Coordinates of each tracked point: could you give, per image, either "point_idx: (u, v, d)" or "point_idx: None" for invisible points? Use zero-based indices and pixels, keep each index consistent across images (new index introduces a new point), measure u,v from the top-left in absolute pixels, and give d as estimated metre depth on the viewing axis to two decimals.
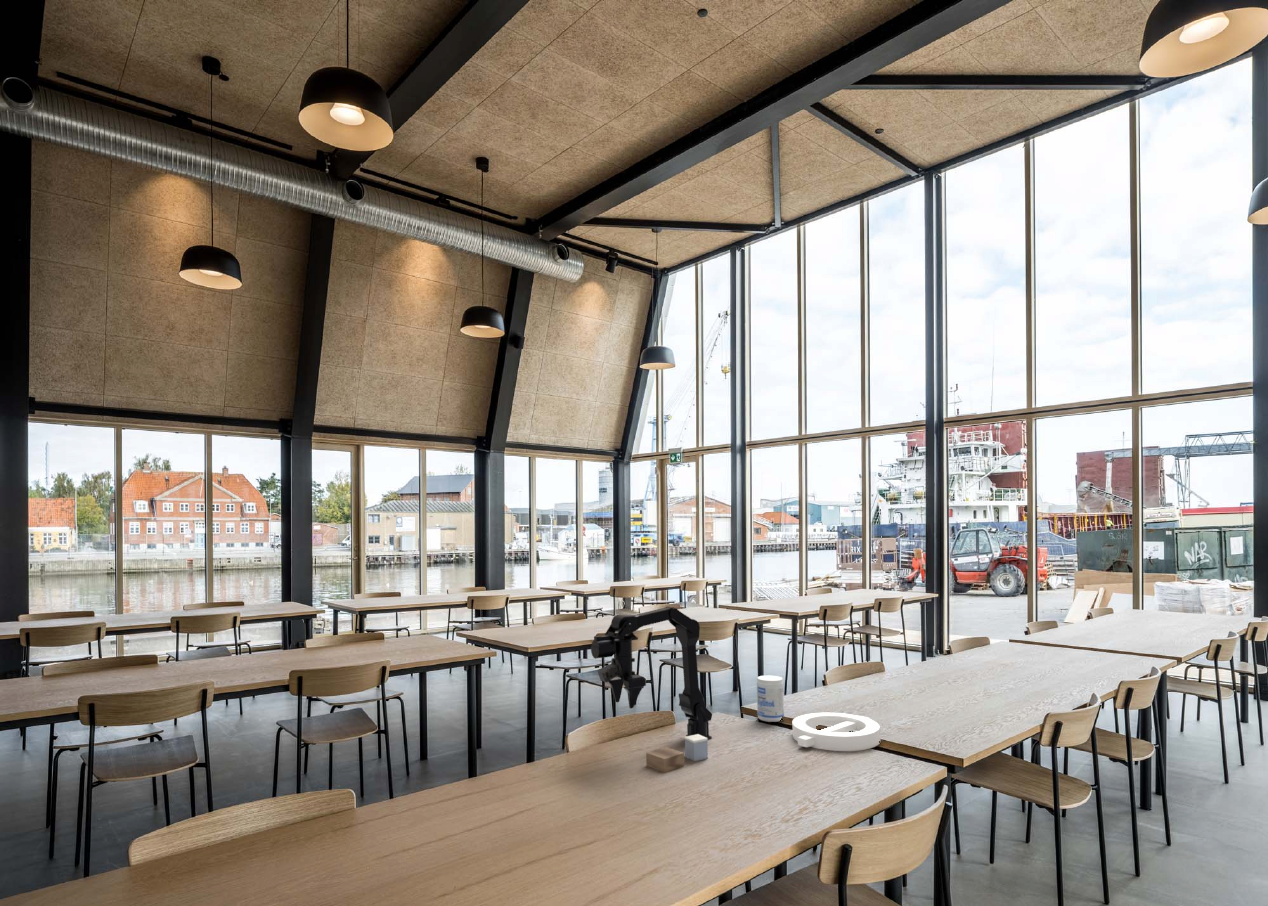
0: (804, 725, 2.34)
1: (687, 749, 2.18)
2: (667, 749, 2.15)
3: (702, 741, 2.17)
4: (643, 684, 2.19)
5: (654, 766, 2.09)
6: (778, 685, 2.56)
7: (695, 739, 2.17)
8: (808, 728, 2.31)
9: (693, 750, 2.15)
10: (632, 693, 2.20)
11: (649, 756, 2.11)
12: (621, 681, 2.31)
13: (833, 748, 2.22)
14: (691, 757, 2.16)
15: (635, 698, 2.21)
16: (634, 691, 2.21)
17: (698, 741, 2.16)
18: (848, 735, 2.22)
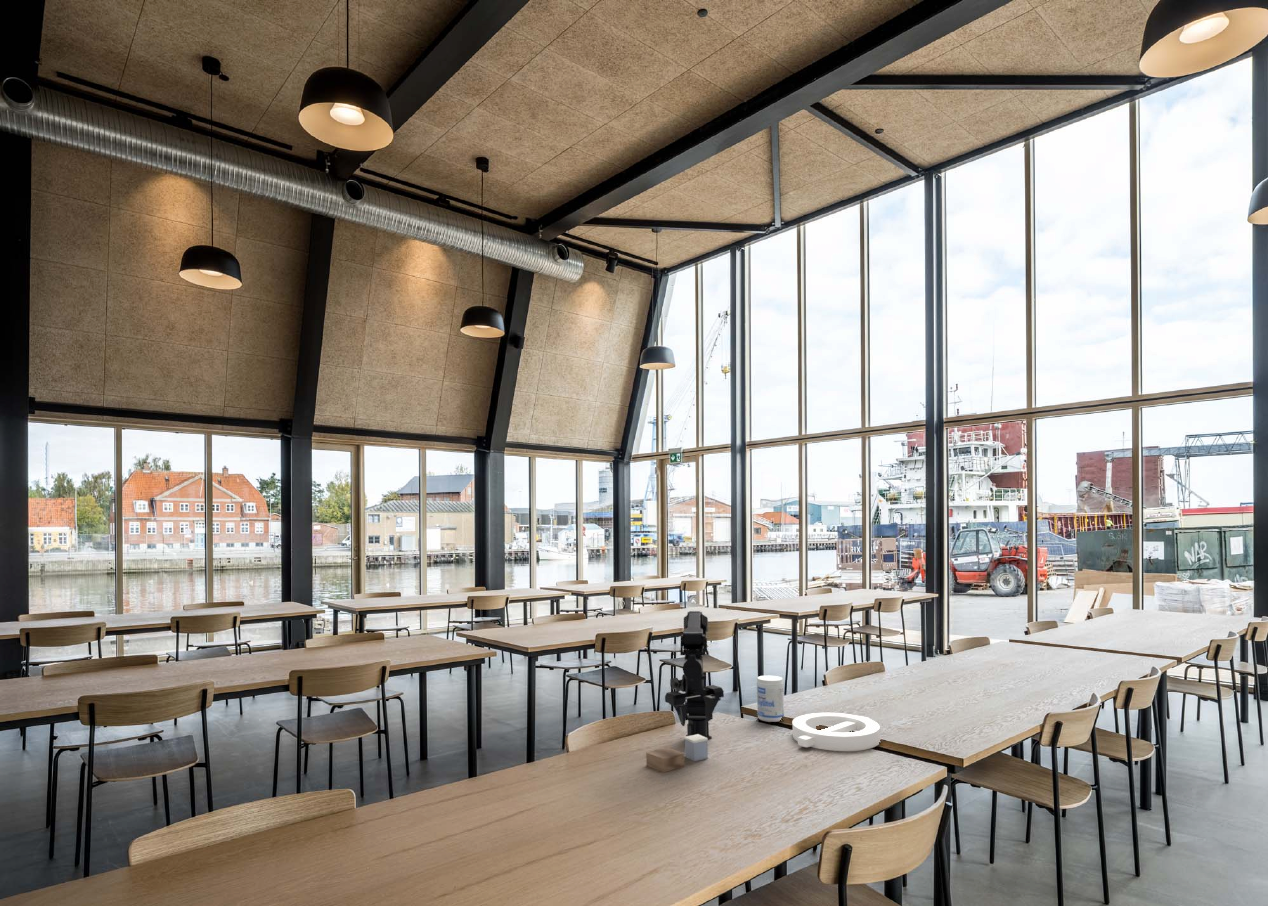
0: (804, 725, 2.34)
1: (687, 749, 2.18)
2: (668, 749, 2.15)
3: (702, 741, 2.17)
4: (672, 703, 2.14)
5: (654, 766, 2.09)
6: (778, 685, 2.56)
7: (695, 739, 2.16)
8: (808, 728, 2.31)
9: (693, 750, 2.15)
10: (679, 710, 2.17)
11: (649, 756, 2.11)
12: (711, 701, 2.20)
13: (833, 748, 2.22)
14: (691, 757, 2.16)
15: (681, 716, 2.16)
16: (680, 709, 2.16)
17: (698, 741, 2.16)
18: (849, 735, 2.22)
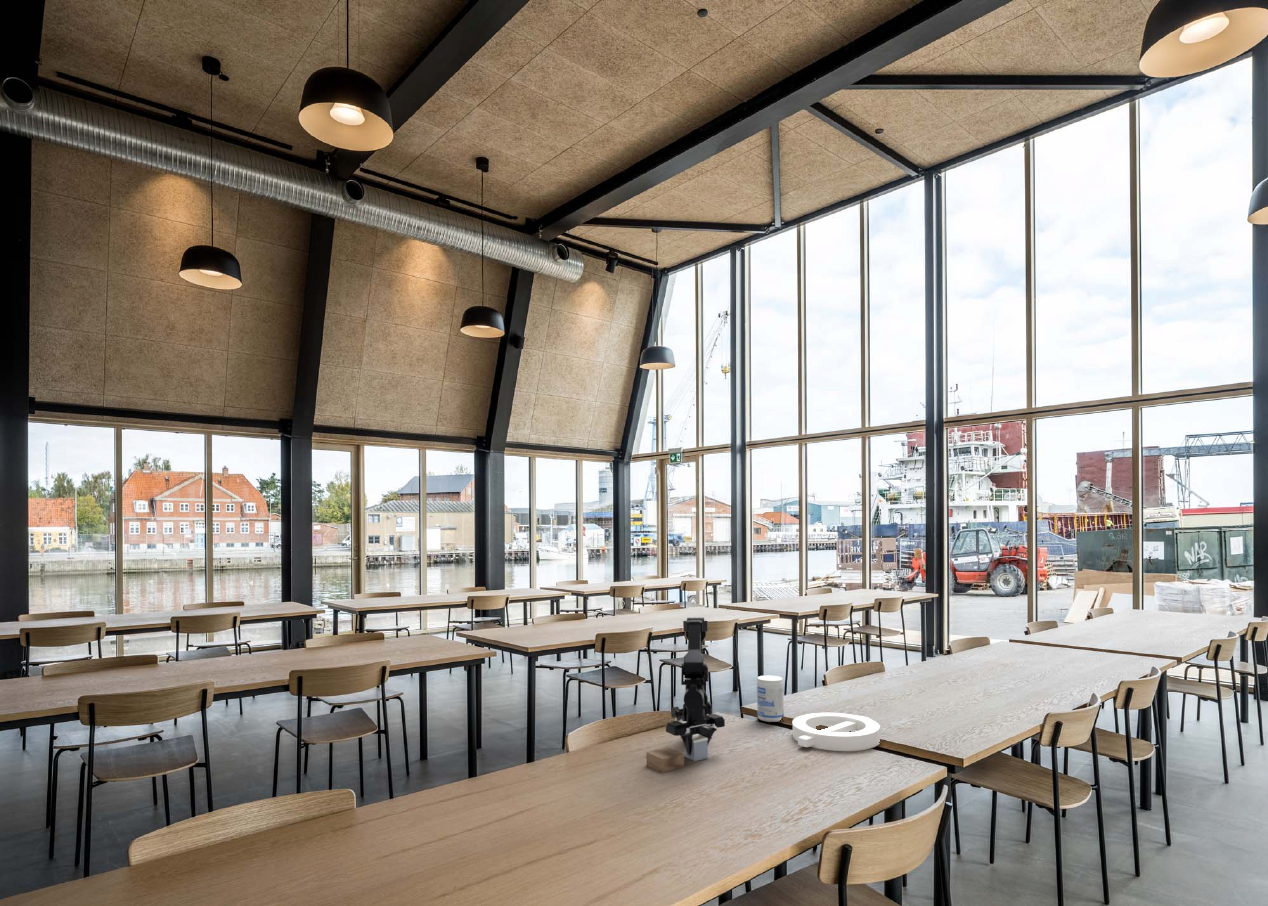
0: (804, 725, 2.34)
1: None
2: (668, 749, 2.15)
3: (702, 740, 2.17)
4: (673, 733, 2.13)
5: (654, 766, 2.09)
6: (778, 685, 2.56)
7: (695, 739, 2.17)
8: (808, 728, 2.31)
9: (693, 750, 2.15)
10: (685, 739, 2.17)
11: (649, 756, 2.11)
12: (707, 732, 2.19)
13: (833, 748, 2.22)
14: (691, 757, 2.16)
15: (687, 745, 2.16)
16: None
17: (698, 741, 2.16)
18: (849, 735, 2.22)
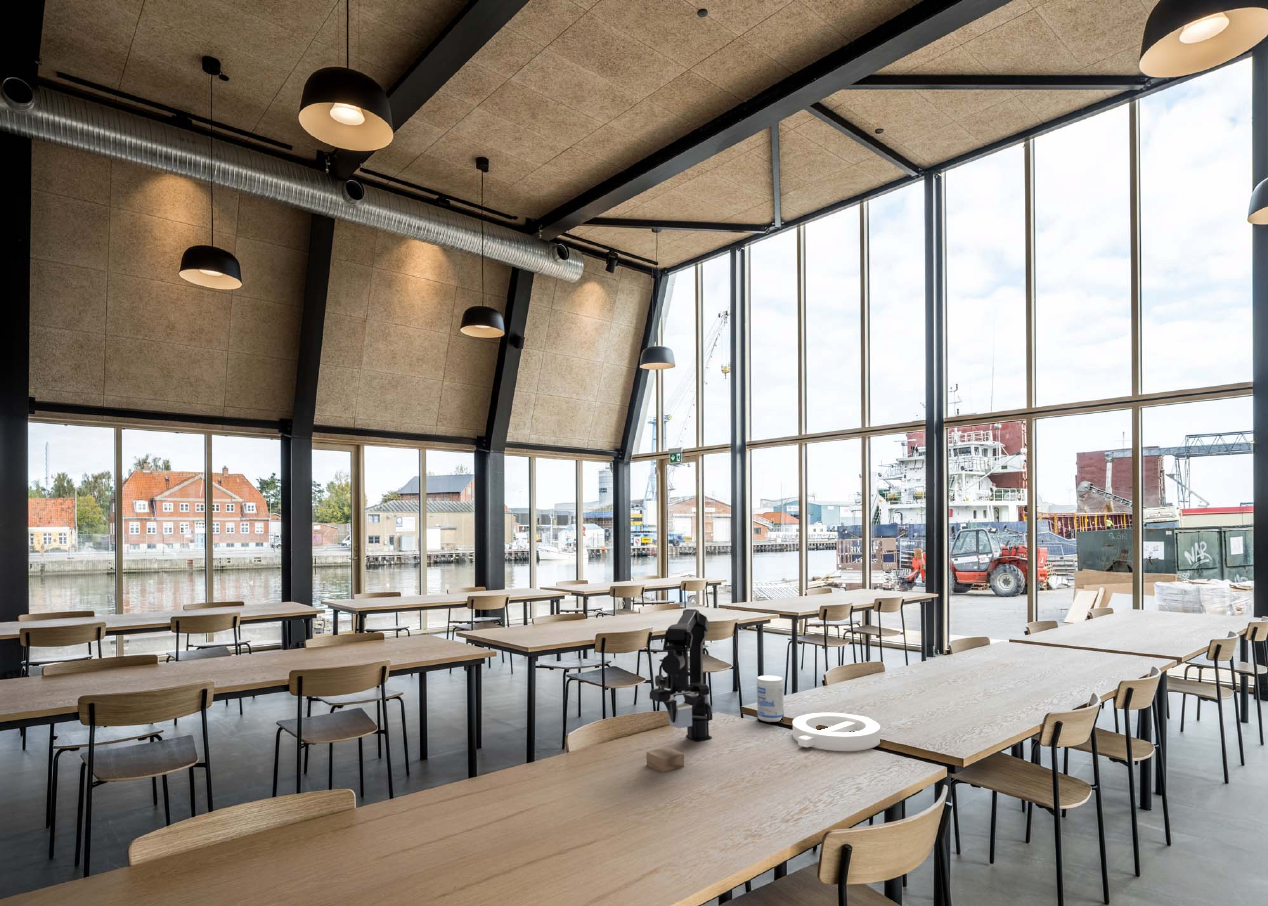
0: (804, 725, 2.34)
1: None
2: (668, 749, 2.15)
3: (686, 708, 2.14)
4: (657, 699, 2.10)
5: (653, 766, 2.09)
6: (778, 685, 2.56)
7: (679, 706, 2.14)
8: (808, 728, 2.31)
9: (677, 717, 2.12)
10: (669, 706, 2.14)
11: (649, 755, 2.11)
12: (691, 699, 2.16)
13: (833, 748, 2.22)
14: (675, 724, 2.13)
15: (671, 713, 2.13)
16: (670, 705, 2.13)
17: (682, 708, 2.13)
18: (849, 735, 2.22)
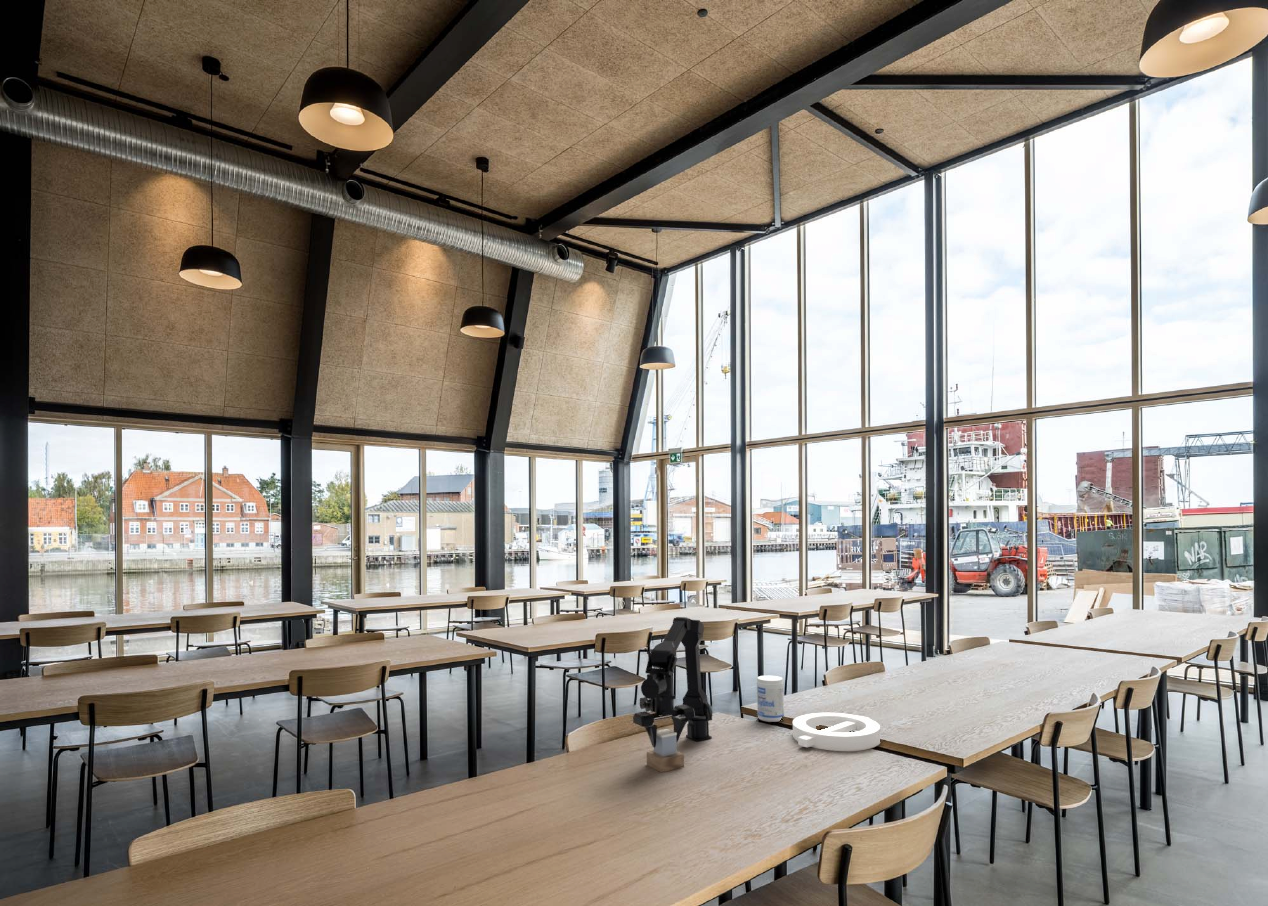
0: (804, 725, 2.34)
1: None
2: None
3: (671, 735, 2.10)
4: (640, 724, 2.06)
5: (653, 766, 2.09)
6: (778, 685, 2.56)
7: (664, 734, 2.10)
8: (808, 728, 2.31)
9: (661, 745, 2.09)
10: (650, 731, 2.10)
11: (649, 755, 2.11)
12: (679, 722, 2.13)
13: (833, 748, 2.22)
14: (659, 752, 2.10)
15: (652, 737, 2.09)
16: (651, 729, 2.09)
17: (666, 735, 2.09)
18: (849, 735, 2.22)
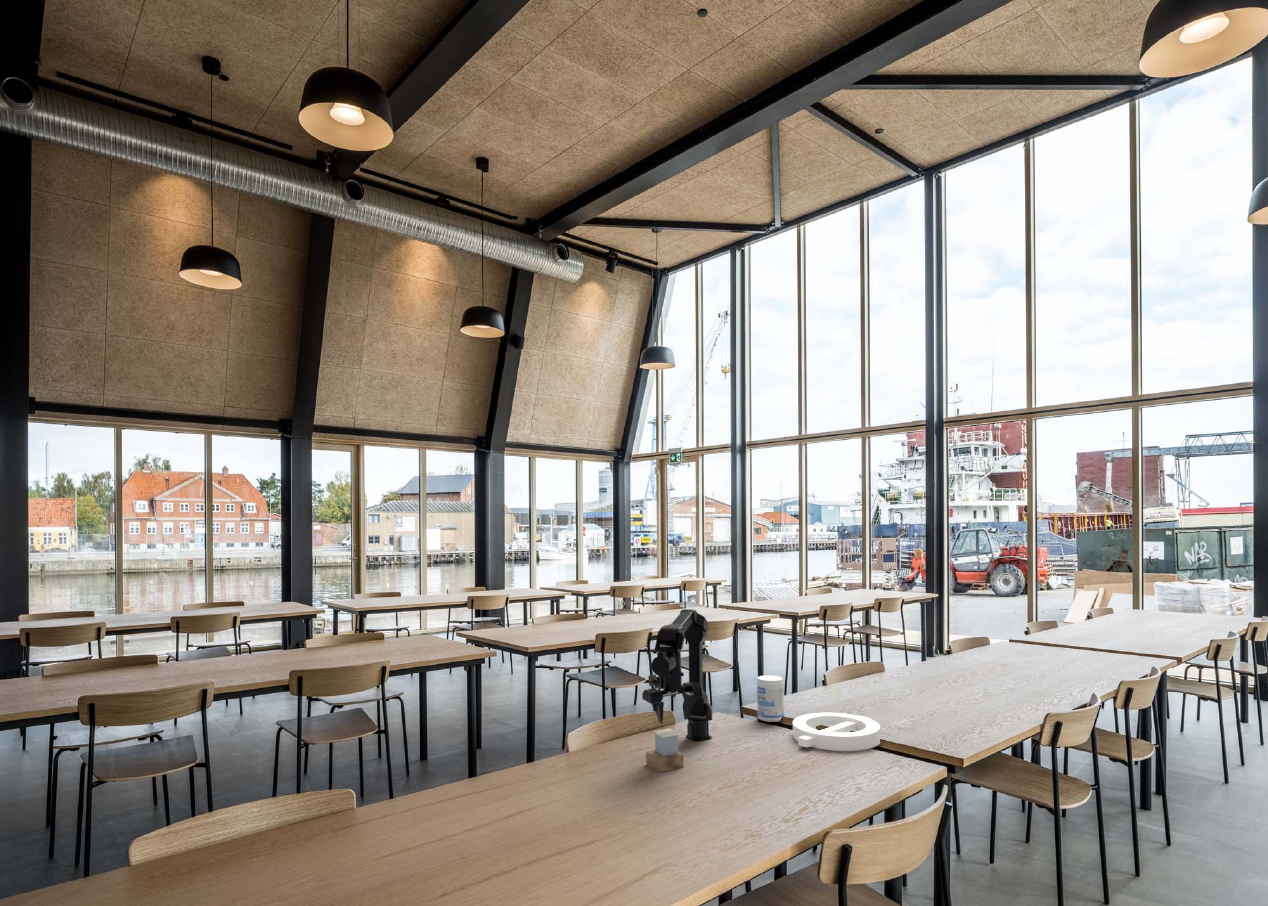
0: (804, 725, 2.34)
1: (657, 744, 2.12)
2: None
3: (672, 735, 2.10)
4: (649, 700, 2.10)
5: (652, 766, 2.09)
6: (778, 685, 2.56)
7: (665, 733, 2.10)
8: (808, 728, 2.31)
9: (662, 745, 2.09)
10: (656, 708, 2.14)
11: (648, 755, 2.11)
12: (690, 698, 2.17)
13: (833, 748, 2.22)
14: (660, 752, 2.10)
15: (659, 714, 2.13)
16: (657, 706, 2.13)
17: (667, 735, 2.10)
18: (849, 735, 2.22)
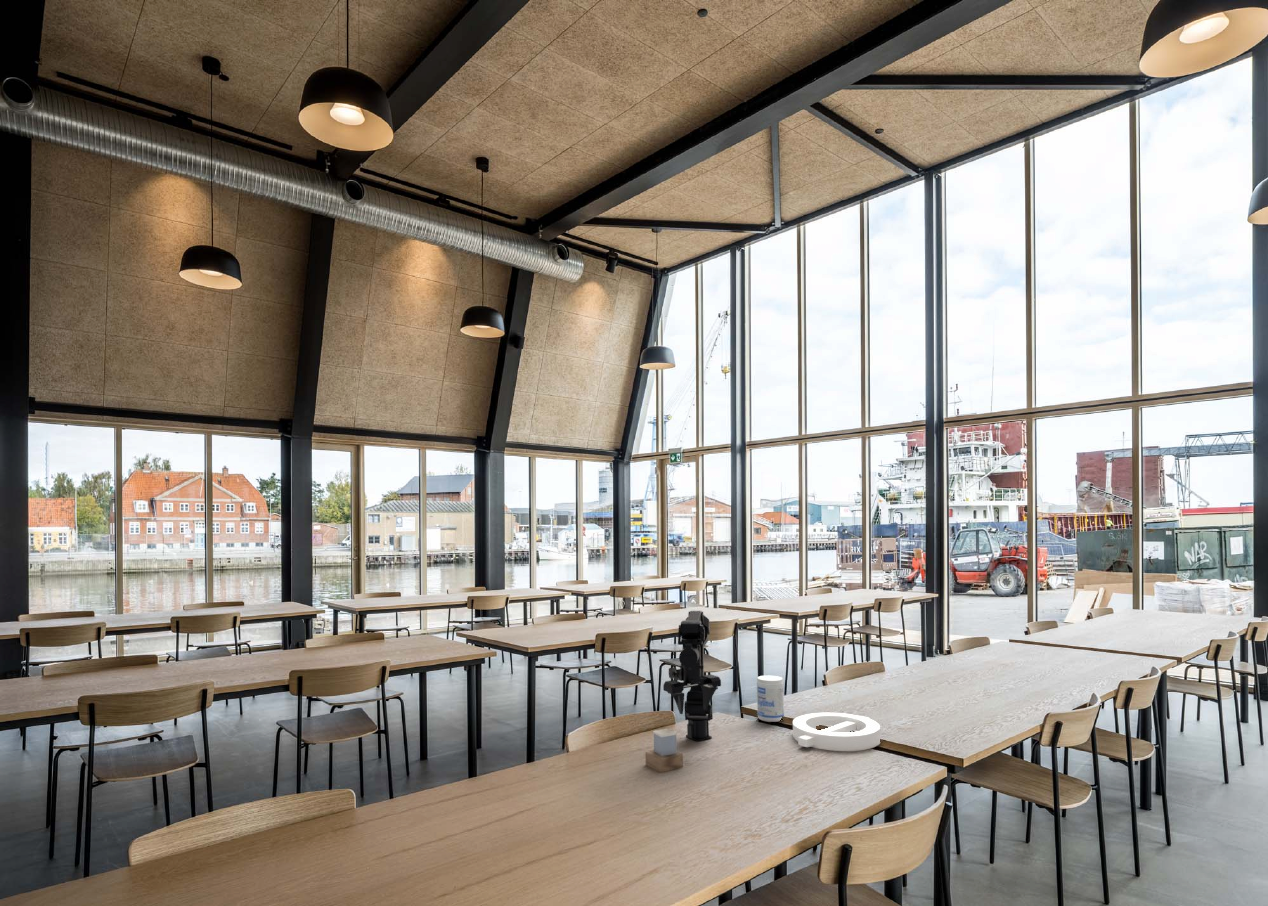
0: (804, 725, 2.34)
1: (656, 743, 2.12)
2: None
3: (670, 735, 2.11)
4: (671, 691, 2.18)
5: (652, 766, 2.09)
6: (778, 685, 2.56)
7: (663, 733, 2.10)
8: (808, 728, 2.31)
9: (661, 744, 2.09)
10: (677, 699, 2.21)
11: (648, 755, 2.11)
12: (709, 690, 2.25)
13: (833, 748, 2.22)
14: (659, 752, 2.10)
15: (679, 705, 2.20)
16: (678, 697, 2.21)
17: (666, 735, 2.10)
18: (849, 735, 2.22)
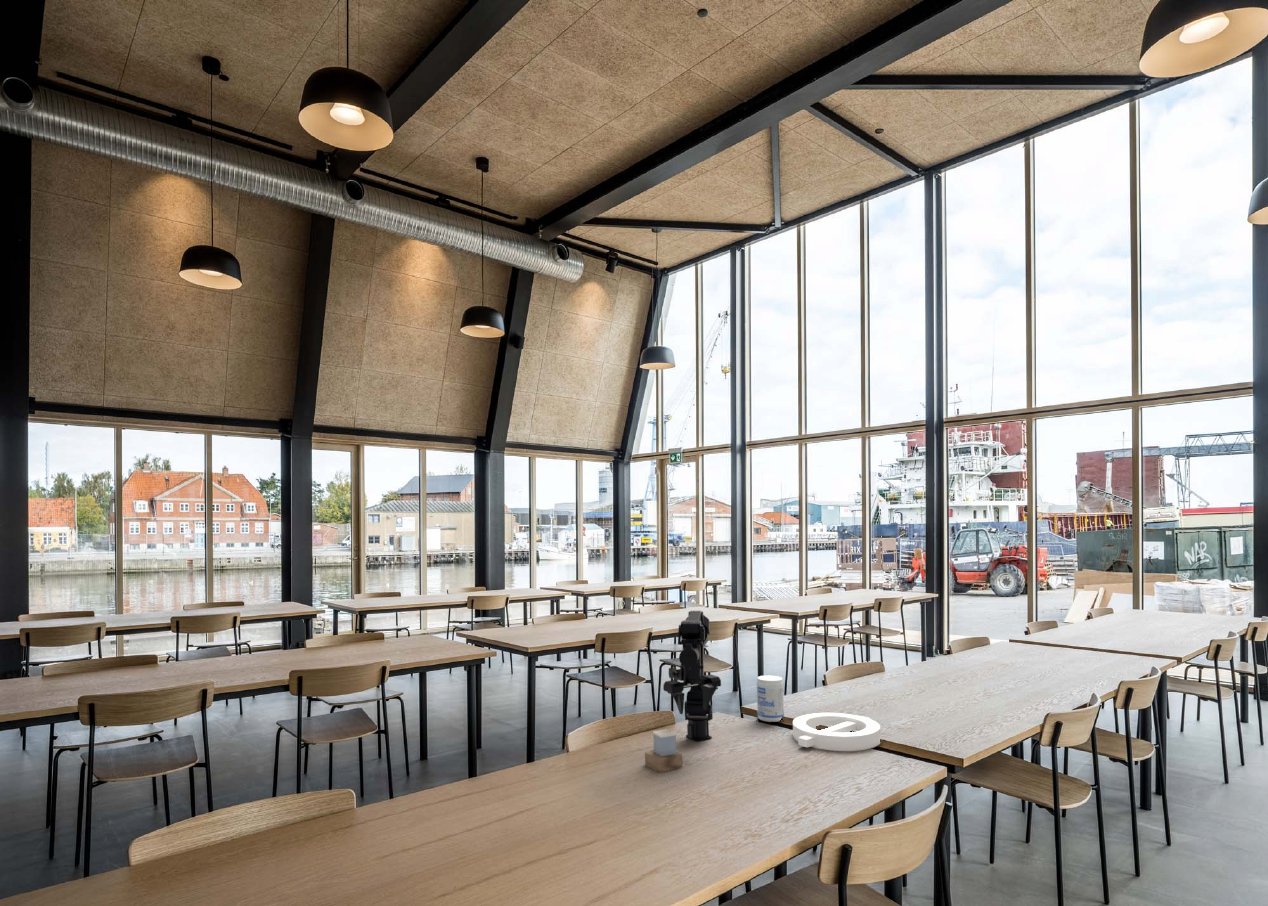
0: (804, 725, 2.34)
1: (655, 744, 2.12)
2: None
3: (670, 735, 2.10)
4: (671, 691, 2.18)
5: (651, 766, 2.09)
6: (778, 685, 2.56)
7: (663, 734, 2.10)
8: (808, 728, 2.31)
9: (660, 745, 2.09)
10: (677, 698, 2.21)
11: (647, 756, 2.11)
12: (709, 690, 2.25)
13: (834, 748, 2.22)
14: (659, 752, 2.10)
15: (679, 705, 2.20)
16: (678, 697, 2.21)
17: (666, 736, 2.09)
18: (849, 735, 2.22)
